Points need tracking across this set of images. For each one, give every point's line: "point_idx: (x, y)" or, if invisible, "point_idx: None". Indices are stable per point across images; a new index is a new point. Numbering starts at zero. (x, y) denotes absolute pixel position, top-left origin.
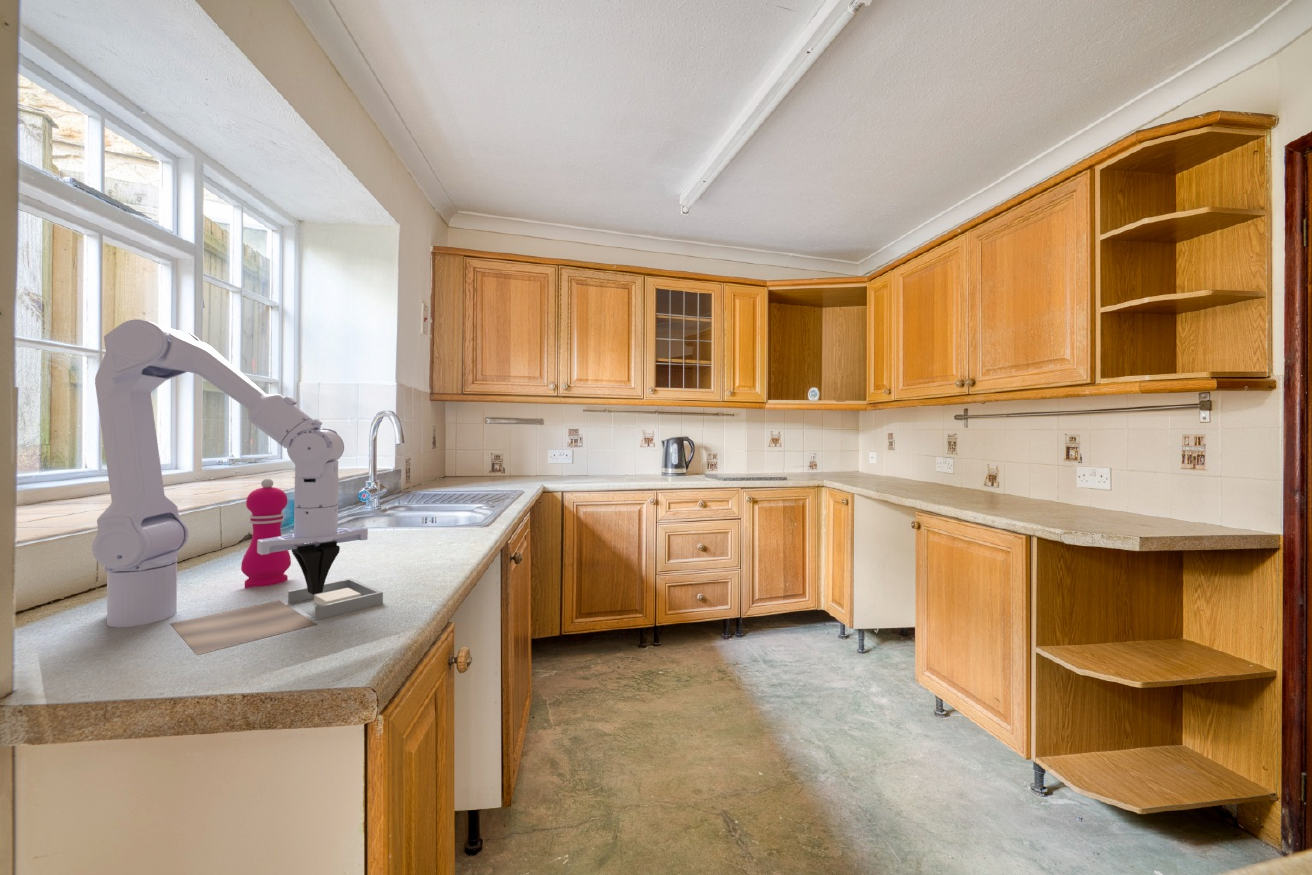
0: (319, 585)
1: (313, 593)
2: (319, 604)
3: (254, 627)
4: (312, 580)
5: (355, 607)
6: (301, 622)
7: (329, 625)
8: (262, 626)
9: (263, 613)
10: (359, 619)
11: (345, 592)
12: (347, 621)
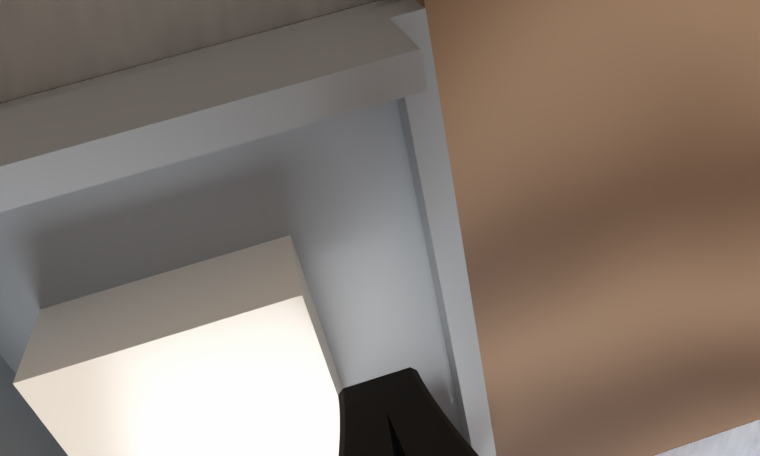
0: (382, 423)
1: (410, 372)
2: (331, 363)
3: (742, 94)
4: (469, 452)
5: (50, 116)
6: (496, 15)
7: (279, 8)
8: (706, 86)
9: (620, 338)
10: (30, 20)
11: (152, 451)
12: (136, 27)
